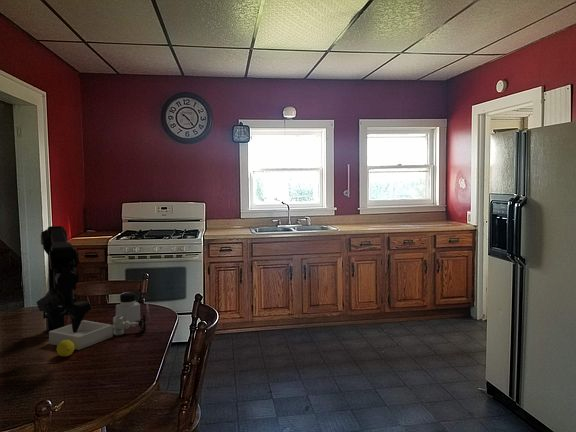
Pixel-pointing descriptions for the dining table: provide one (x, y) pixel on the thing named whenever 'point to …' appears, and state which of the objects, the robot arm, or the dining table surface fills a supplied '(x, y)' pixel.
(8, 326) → the dining table surface
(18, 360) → the dining table surface
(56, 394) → the dining table surface
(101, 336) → the walled box
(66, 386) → the dining table surface
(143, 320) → the valve
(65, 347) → the lemon
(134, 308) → the medicine bottle
